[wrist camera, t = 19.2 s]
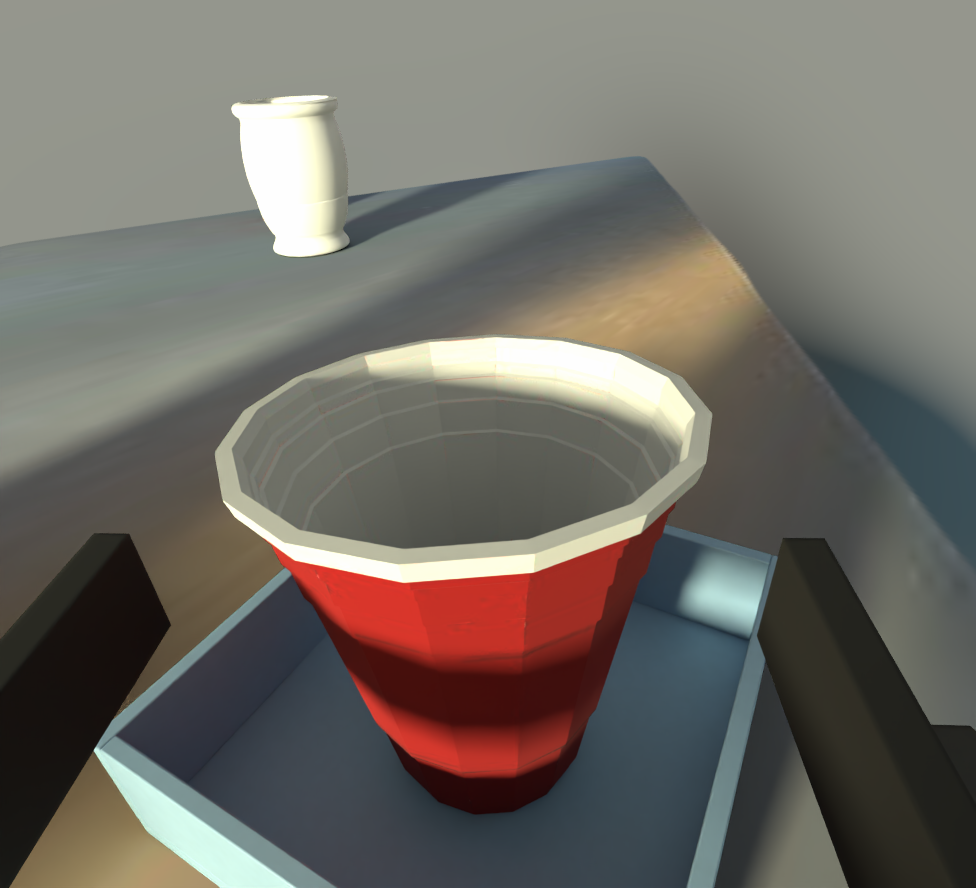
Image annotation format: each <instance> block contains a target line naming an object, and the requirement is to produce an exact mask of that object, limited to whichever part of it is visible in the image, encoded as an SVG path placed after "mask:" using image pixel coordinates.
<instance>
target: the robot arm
mask: <svg viewBox="0 0 976 888" xmlns="http://www.w3.org/2000/svg"><path fill="white" fill-rule="evenodd" d="M170 626H171V624H170V621H169V619H168V617H167V615H166V613H165V611H164V608H163V606H162V604H161V602H160V600H159V598H158V595H157V593H156V591H155V589H154V587H153V584H152V582H151V580H150V578H149V576H148V574H147V571H146V569H145V567H144V565H143V563H142V561H141V558H140V556H139V554H138V552H137V550H136V548H135V545H134V543H133V541H132V539H131V537H130V535H129V534H109V533H94V534H93V535H92V536H91V537H90V539H89V540H88V541H87V542H86V543H85V544H84V545H83V547H82V548H81V549H80V550H79V551H78V552H77V553H76V554H75V556H74V557H73V558H72V559H71V560H70V561H69V562H68V563H67V565H66V566H65V567H64V568H63V569H62V570H61V571H60V573H59V574H58V575H57V576H56V577H55V578H54V579H53V580H52V582H51V583H50V584H49V585H48V586H47V587H46V588H45V590H44V591H43V592H42V593H41V594H40V595H39V596H38V597H37V599H36V600H35V601H34V602H33V603H32V604H31V605H30V606H29V608H28V609H27V610H26V611H25V612H24V613H23V614H22V616H21V617H20V618H19V619H18V620H17V621H16V622H15V623H14V625H13V626H12V627H11V628H10V629H9V630H8V631H7V633H6V634H5V635H4V636H3V637H2V638H1V639H0V888H9V887H10V885H11V884H12V882H13V880H14V879H15V877H16V875H17V874H18V872H19V871H20V869H21V867H22V866H23V864H24V863H25V861H26V859H27V858H28V856H29V854H30V853H31V851H32V850H33V848H34V846H35V845H36V843H37V841H38V840H39V838H40V837H41V835H42V833H43V832H44V830H45V828H46V827H47V825H48V824H49V822H50V820H51V819H52V817H53V816H54V814H55V812H56V811H57V809H58V807H59V806H60V804H61V803H62V801H63V799H64V798H65V796H66V794H67V793H68V791H69V790H70V788H71V786H72V785H73V783H74V781H75V780H76V778H77V777H78V775H79V773H80V772H81V770H82V768H83V767H84V765H85V764H86V762H87V760H88V759H89V757H90V756H91V754H92V752H93V751H94V749H95V747H96V746H97V744H98V743H99V741H100V739H101V738H102V736H103V734H104V733H105V731H106V730H107V728H108V726H109V725H110V723H111V721H112V720H113V718H114V717H115V715H116V713H117V712H118V710H119V709H120V707H121V705H122V704H123V702H124V700H125V699H126V697H127V696H128V694H129V692H130V691H131V689H132V687H133V686H134V684H135V683H136V681H137V679H138V678H139V676H140V674H141V673H142V671H143V670H144V668H145V666H146V665H147V663H148V661H149V660H150V658H151V657H152V655H153V653H154V652H155V650H156V649H157V647H158V645H159V644H160V642H161V640H162V639H163V637H164V636H165V634H166V632H167V631H168V629H169V627H170ZM757 638H758V641H759V643H760V646H761V649H762V652H763V654H764V657H765V660H766V663H767V665H768V668H769V671H770V674H771V676H772V679H773V682H774V684H775V687H776V690H777V693H778V695H779V698H780V701H781V704H782V706H783V709H784V712H785V715H786V717H787V720H788V723H789V725H790V728H791V731H792V734H793V736H794V739H795V742H796V745H797V747H798V750H799V753H800V755H801V758H802V761H803V764H804V766H805V769H806V772H807V775H808V777H809V780H810V783H811V786H812V788H813V791H814V794H815V796H816V799H817V802H818V805H819V807H820V810H821V813H822V816H823V818H824V821H825V824H826V827H827V829H828V832H829V835H830V837H831V840H832V843H833V846H834V848H835V851H836V854H837V857H838V859H839V862H840V865H841V867H842V870H843V873H844V876H845V878H846V881H847V884H848V887H849V888H976V731H975V730H974V729H973V728H972V727H971V726H958V725H931V724H930V722H929V720H928V719H927V717H926V715H925V713H924V712H923V710H922V708H921V706H920V705H919V703H918V701H917V699H916V698H915V696H914V694H913V692H912V691H911V689H910V687H909V685H908V684H907V682H906V680H905V678H904V677H903V675H902V673H901V671H900V670H899V668H898V666H897V664H896V663H895V661H894V659H893V657H892V656H891V654H890V652H889V650H888V649H887V647H886V645H885V643H884V642H883V640H882V638H881V636H880V635H879V633H878V631H877V629H876V628H875V626H874V624H873V622H872V621H871V619H870V617H869V615H868V614H867V612H866V610H865V608H864V607H863V605H862V603H861V601H860V600H859V598H858V596H857V594H856V593H855V591H854V589H853V587H852V586H851V584H850V582H849V580H848V579H847V577H846V575H845V573H844V572H843V570H842V568H841V566H840V565H839V563H838V561H837V559H836V558H835V556H834V554H833V552H832V551H831V549H830V547H829V545H828V544H827V542H826V540H825V538H783V540H782V544H781V547H780V551H779V555H778V559H777V562H776V566H775V570H774V573H773V577H772V581H771V585H770V588H769V592H768V596H767V599H766V603H765V607H764V611H763V614H762V618H761V622H760V625H759V629H758V633H757Z"/></svg>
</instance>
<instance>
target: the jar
mask: <svg viewBox="0 0 976 888" xmlns="http://www.w3.org/2000/svg"><path fill="white" fill-rule="evenodd" d="M337 106H338V103H337V98H336V97H330V96H292V97H277V98H265V99H256V100H249V101H243V102H239V103H236V104H233V105H232V112H233V114H234V115H235V116H236V117H237V118H239V119H240V122H241V130H240V138H241V149H242V156H243V162H244V166H245V170H246V174H247V178H248V181H249V183H250V186H251V189H252V191H253V194H254V196H255V198H256V200H257V203H258V207H259V209H260V212H261V214H262V217H263V219H264V221H265V222H266V224H267V226H268V227H269V229H270V230H271V231H272V233H273V234H275V236H276V240H275V243H274V251H275V252H276V253H278V254H280V255H284V256H291V257H307V256H316V255H322V254H328V253H332V252H335V251H338V250H340V249H343V248H344V247H346V246H347V245H348V244H349V242H350V239H349V237H348V235H347V234H346V233H345V232H344V230H343V227H344V225H345V222H346V218H347V213H348V193H347V190H348V168H347V159H346V153H345V148H344V144H343V140H342V136H341V133H340V130H339V127H338V124H337V122H336V120H335V117H334V111H335V110H336V109H337Z"/></svg>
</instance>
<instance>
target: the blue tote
mask: <svg viewBox="0 0 976 888" xmlns="http://www.w3.org/2000/svg"><path fill="white" fill-rule="evenodd" d="M777 559H778V556H774V555H773V556H772V555H771V554H767V553H764V552H760V551H757V550H753V549H750V548H746V547H743V546H739V545H736V544H732V543H729V542H725V541H722V540H718V539H715V538H711V537H708V536H704V535H701V534H697V533H694V532H690V531H687V530H683V529H679V528H676V527H672V526H669V525H665V528H664V531H663V534H662V537H661V538H660V539H659V540H658V541H657V542H656V543H655V546H654V549H653V553H652V556H651V559H650V563H649V566H648V569H647V573H646V574H645V575H644V576H643V577H642V578H641V579H640V581H639V584H638V587H637V590H636V593H635V596H634V599H633V602H632V604H631V607H630V610H629V613H628V616H627V619H626V622H625V625H624V628H623V631H622V634H621V637H620V640H619V643H618V646H617V649H616V652H615V655H614V658H613V661H612V664H611V667H610V670H609V672H608V675H607V678H606V681H605V684H604V687H603V690H602V693H601V696H600V699H599V702H598V705H597V708H596V710H595V711H594V712H593V714H592V715H591V716H590V717H589V720H588V723H587V726H586V729H585V732H584V735H583V738H582V741H581V744H580V747H579V750H578V753H577V756H576V758H575V759H574V761H573V762H572V763H571V764H570V766H569V768H568V769H567V770H566V771H565V773H564V774H563V775H562V776H561V778H560V779H559V780H558V781H557V782H556V784H555V785H554V786H553V787H552V789H551V790H550V791H549V792H548V794H547V795H545V796H543V797H541V798H539V799H537V800H535V801H533V802H531V803H529V804H527V805H525V806H523V807H522V808H520V809H518V810H516V811H514V812H505V813H491V814H478V815H474V814H471V813H468V812H465V811H462V810H459V809H457V808H454V807H451V806H448V805H445V804H442V803H439V802H438V801H437V800H436V799H435V798H434V797H433V796H432V795H431V794H430V793H429V792H428V791H427V790H426V789H425V788H424V787H422V786H421V785H420V784H419V783H418V782H417V781H416V780H415V779H414V778H413V777H412V776H411V775H410V774H409V773H408V772H407V771H406V770H405V769H404V767H403V765H402V763H401V761H400V759H399V757H398V755H397V753H396V751H395V749H394V748H393V746H392V744H391V742H390V740H389V738H388V736H387V734H386V732H384V731H383V730H382V729H381V728H380V727H379V726H378V725H377V723H376V722H375V720H374V718H373V716H372V714H371V712H370V710H369V709H368V707H367V705H366V703H365V701H364V699H363V698H362V696H361V694H360V692H359V690H358V688H357V686H356V685H355V683H354V681H353V679H352V677H351V675H350V673H349V672H348V670H347V668H346V666H345V664H344V662H343V661H342V659H341V657H340V655H339V653H338V651H337V649H336V648H335V646H334V644H333V642H332V640H331V638H330V636H329V635H328V633H327V631H326V629H325V627H324V625H323V624H322V622H321V620H320V618H319V616H318V614H317V612H316V611H315V609H314V607H313V605H312V604H311V603H309V602H308V601H307V600H306V599H304V597H303V595H302V593H301V591H300V589H299V587H298V585H297V584H296V582H295V580H294V578H293V576H292V574H291V572H290V571H289V570H288V569H286V568H284V569H283V570H282V571H280V572H279V573H278V574H277V575H276V576H275V577H274V578H273V579H271V580H270V581H269V582H268V583H267V584H266V585H265V586H264V587H262V588H261V589H260V590H259V591H258V592H257V593H256V594H254V595H253V596H252V597H251V598H250V599H249V600H248V601H247V602H245V603H244V604H243V605H242V606H241V607H240V608H239V609H238V610H236V611H235V612H234V613H233V614H232V615H231V616H230V617H229V618H227V619H226V620H225V621H224V622H223V623H222V624H221V625H219V626H218V627H217V628H216V629H215V630H214V631H213V632H212V633H210V634H209V635H208V636H207V637H206V638H205V639H204V640H203V641H201V642H200V643H199V644H198V645H197V646H196V647H195V648H193V649H192V650H191V651H190V652H189V653H188V654H187V655H186V656H184V657H183V658H182V659H181V660H180V661H179V662H178V663H177V664H175V665H174V666H173V667H172V668H171V669H170V670H169V671H168V672H166V673H165V674H164V675H163V676H162V677H161V678H160V679H158V680H157V681H156V682H155V683H154V684H153V685H152V686H151V687H149V688H148V689H147V690H146V691H145V692H144V693H143V694H142V695H140V696H139V697H138V698H137V699H136V700H135V701H134V702H133V703H131V704H130V705H129V706H128V707H127V708H126V709H125V710H123V711H122V712H121V713H120V714H119V715H118V716H117V717H116V718H114V719H113V720H112V721H111V723H110V725H109V726H108V728H107V730H106V731H105V733H104V734H103V736H102V738H101V739H100V741H99V743H98V744H97V746H96V747H95V749H94V752H95V754H96V755H97V757H98V758H99V760H100V761H101V763H102V765H103V766H104V768H105V769H106V771H107V772H108V774H109V775H110V777H111V778H112V780H113V781H114V783H115V784H116V786H117V787H118V789H119V790H120V792H121V793H122V795H123V796H124V798H125V799H126V801H127V802H128V804H129V805H130V807H131V808H132V810H133V811H134V813H135V815H136V816H137V818H139V819H140V822H141V823H142V825H143V826H144V828H145V829H146V831H147V832H148V833H149V834H151V835H152V836H153V837H155V838H156V839H157V840H159V841H160V842H161V843H163V844H164V845H165V846H167V847H168V848H169V849H170V850H172V851H173V852H174V853H176V854H177V855H178V856H180V857H181V858H182V859H184V860H185V861H186V862H188V863H189V864H190V865H192V866H193V867H194V868H195V869H197V870H198V871H199V872H201V873H202V874H203V875H205V876H206V877H207V878H209V879H210V880H211V881H213V882H214V883H215V884H216V885H218V886H219V887H220V888H714V887H715V882H716V878H717V873H718V869H719V865H720V860H721V856H722V851H723V847H724V842H725V838H726V834H727V829H728V825H729V820H730V816H731V811H732V807H733V803H734V798H735V794H736V789H737V785H738V780H739V776H740V772H741V767H742V763H743V758H744V754H745V749H746V745H747V741H748V736H749V732H750V727H751V723H752V718H753V714H754V710H755V705H756V701H757V696H758V692H759V687H760V683H761V679H762V674H763V670H764V665H765V661H766V660H765V657H764V654H763V652H762V649H761V646H760V643H759V641H758V638H757V633H758V629H759V625H760V622H761V618H762V614H763V611H764V607H765V603H766V599H767V596H768V592H769V588H770V585H771V581H772V577H773V573H774V570H775V566H776V562H777Z"/></svg>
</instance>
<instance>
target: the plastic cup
mask: <svg viewBox="0 0 976 888" xmlns="http://www.w3.org/2000/svg"><path fill="white" fill-rule="evenodd" d="M711 422H712V413H711V412H710V410H709V409H708V408H707V407H706V405H705V404H704V403H703V402H702V401H701V399H700V398H699V397H698V396H697V395H696V393H695V392H694V391H693V390H692V388H691V387H690V386H689V385H688V384H687V382H686V381H685V380H684V379H683V378H682V376H679V375H677V374H675V373H673V372H671V371H669V370H667V369H665V368H663V367H661V366H658V365H656V364H654V363H652V362H650V361H648V360H646V359H644V358H642V357H640V356H638V355H635V354H633V353H631V352H629V351H624V350H620V349H615V348H610V347H606V346H601V345H597V344H592V343H587V342H583V341H578V340H573V339H569V338H559V337H541V336H522V335H504V334H492V335H479V336H466V337H453V338H440V339H427V340H422V341H417V342H413V343H408V344H403V345H398V346H393V347H389V348H384V349H379V350H374V351H369V352H365V353H360V354H357V355H354V356H351V357H349V358H346V359H343V360H340V361H338V362H335V363H332V364H330V365H327V366H324V367H322V368H319V369H316V370H314V371H311V372H308V373H305V374H303V375H300V376H297V377H295V378H294V379H292V380H290V381H289V382H287V383H286V384H284V385H283V386H281V387H279V388H278V389H276V390H275V391H273V392H272V393H270V394H269V395H267V396H265V397H264V398H262V399H261V400H259V401H258V402H256V403H255V404H253V405H251V406H250V407H248V408H247V409H245V410H244V411H243V412H242V414H241V415H240V417H239V418H238V420H237V421H236V422H235V424H234V425H233V427H232V428H231V430H230V431H229V432H228V434H227V435H226V437H225V438H224V440H223V441H222V442H221V444H220V445H219V447H218V448H217V450H216V451H215V452H214V453H215V459H216V465H217V471H218V477H219V482H220V488H221V494H222V500H223V501H224V503H225V504H226V506H227V507H228V508H229V510H230V511H231V512H232V514H233V515H234V516H235V518H237V519H238V520H240V521H241V522H242V523H244V524H245V525H247V526H248V527H249V528H251V529H252V530H253V531H255V532H256V533H258V534H259V535H260V536H262V537H263V539H264V540H265V541H267V542H268V543H269V544H271V545H272V547H273V549H274V551H275V553H276V555H277V557H278V559H279V561H280V562H281V564H282V565H283V566H284V567H285V568H286V569H288V570H289V571H290V572H291V574H292V576H293V578H294V580H295V582H296V584H297V585H298V587H299V589H300V591H301V593H302V595H303V597H304V599H306V600H307V601H308V602H309V603H311V604H312V605H313V607H314V609H315V611H316V612H317V614H318V616H319V618H320V620H321V622H322V624H323V625H324V627H325V629H326V631H327V633H328V635H329V636H330V638H331V640H332V642H333V644H334V646H335V648H336V649H337V651H338V653H339V655H340V657H341V659H342V661H343V662H344V664H345V666H346V668H347V670H348V672H349V673H350V675H351V677H352V679H353V681H354V683H355V685H356V686H357V688H358V690H359V692H360V694H361V696H362V698H363V699H364V701H365V703H366V705H367V707H368V709H369V710H370V712H371V714H372V716H373V718H374V720H375V722H376V723H377V725H378V726H379V727H380V728H381V729H382V730H383V731H384V732H386V734H387V736H388V738H389V740H390V742H391V744H392V746H393V748H394V749H395V751H396V753H397V755H398V757H399V759H400V761H401V763H402V765H403V767H404V769H405V770H406V771H407V772H408V773H409V774H410V775H411V776H412V777H413V778H414V779H415V780H416V781H417V782H418V783H419V784H420V785H421V786H422V787H424V788H425V789H426V790H427V791H428V792H429V793H430V794H431V795H432V796H433V797H434V798H435V799H436V800H437V801H438V802H439V803H442V804H445V805H448V806H451V807H454V808H457V809H459V810H462V811H465V812H468V813H471V814H474V815H478V814H491V813H505V812H514V811H516V810H518V809H520V808H522V807H523V806H525V805H527V804H529V803H531V802H533V801H535V800H537V799H539V798H541V797H543V796H545V795H547V794H548V792H549V791H550V790H551V789H552V787H553V786H554V785H555V784H556V782H557V781H558V780H559V779H560V778H561V776H562V775H563V774H564V773H565V771H566V770H567V769H568V768H569V766H570V764H571V763H572V762H573V761H574V759H575V758H576V756H577V753H578V750H579V747H580V744H581V741H582V738H583V735H584V732H585V729H586V726H587V723H588V720H589V717H590V716H591V715H592V714H593V712H594V711H595V710H596V708H597V705H598V702H599V699H600V696H601V693H602V690H603V687H604V684H605V681H606V678H607V675H608V672H609V670H610V667H611V664H612V661H613V658H614V655H615V652H616V649H617V646H618V643H619V640H620V637H621V634H622V631H623V628H624V625H625V622H626V619H627V616H628V613H629V610H630V607H631V604H632V602H633V599H634V596H635V593H636V590H637V587H638V584H639V581H640V579H641V578H642V577H643V576H644V575H645V574H646V573H647V569H648V566H649V563H650V559H651V556H652V553H653V549H654V546H655V543H656V542H657V541H658V540H659V539H660V538H661V537H662V534H663V531H664V528H665V524H666V521H667V517H668V514H669V513H670V512H671V511H672V510H673V509H674V508H675V504H676V501H677V500H678V499H679V498H680V497H681V496H682V495H683V494H684V493H686V492H687V491H688V490H689V489H690V488H691V487H692V486H693V485H694V484H695V483H697V482H698V480H699V477H700V475H701V473H702V471H703V469H704V466H705V464H706V461H707V453H708V445H709V437H710V430H711Z"/></svg>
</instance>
